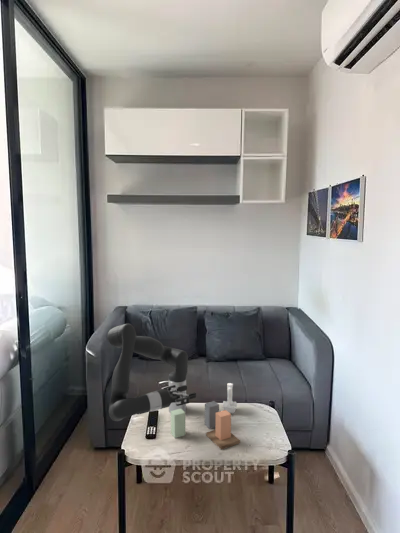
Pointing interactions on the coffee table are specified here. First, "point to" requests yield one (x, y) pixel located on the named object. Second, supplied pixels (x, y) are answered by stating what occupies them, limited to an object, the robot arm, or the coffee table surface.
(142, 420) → the coffee table surface
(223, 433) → the terracotta brick
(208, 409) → the charcoal brick
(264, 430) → the coffee table surface
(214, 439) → the walnut board
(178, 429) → the sage brick
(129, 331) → the robot arm
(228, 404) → the figurine
